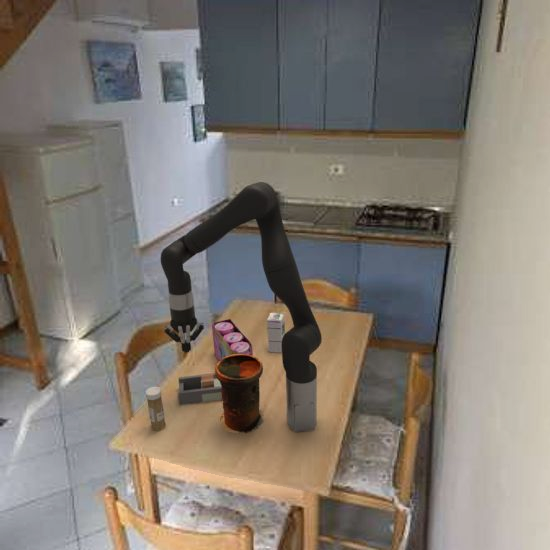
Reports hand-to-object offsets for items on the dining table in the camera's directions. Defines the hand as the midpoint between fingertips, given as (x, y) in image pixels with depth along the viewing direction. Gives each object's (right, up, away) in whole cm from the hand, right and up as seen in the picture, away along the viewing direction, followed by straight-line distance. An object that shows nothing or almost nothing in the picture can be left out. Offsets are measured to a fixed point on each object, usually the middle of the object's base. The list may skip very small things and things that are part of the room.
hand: (186, 351), depth 161 cm
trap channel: (+8, -15, +8) cm, 19 cm away
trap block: (+6, -13, +6) cm, 15 cm away
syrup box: (+30, -4, +33) cm, 44 cm away
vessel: (+19, -21, -6) cm, 28 cm away
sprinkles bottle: (-7, -22, -8) cm, 25 cm away
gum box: (+13, -9, +23) cm, 28 cm away
